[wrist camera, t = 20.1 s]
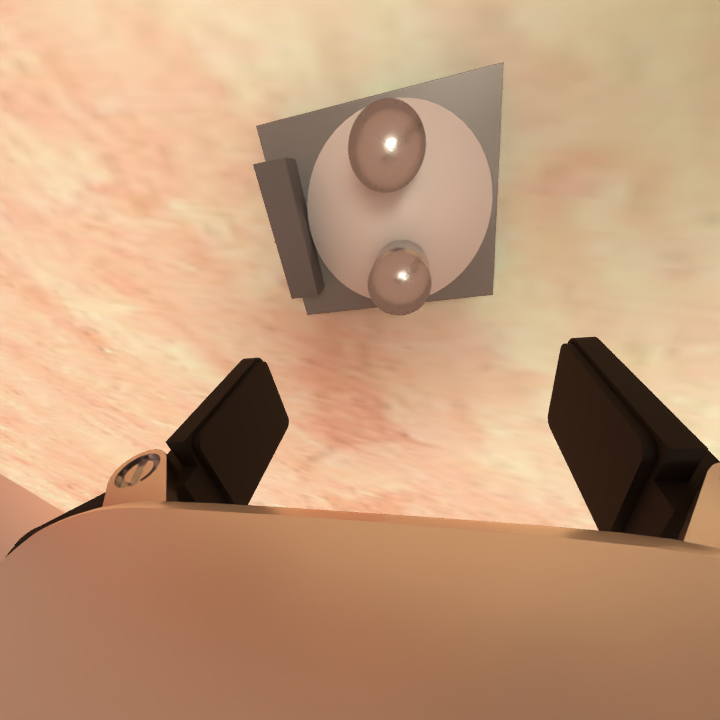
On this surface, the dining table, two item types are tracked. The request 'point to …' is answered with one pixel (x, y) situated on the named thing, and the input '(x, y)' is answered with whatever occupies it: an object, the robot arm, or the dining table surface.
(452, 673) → the robot arm
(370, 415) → the dining table surface
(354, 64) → the dining table surface
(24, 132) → the dining table surface
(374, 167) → the cylinder
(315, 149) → the scale
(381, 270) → the cylinder
